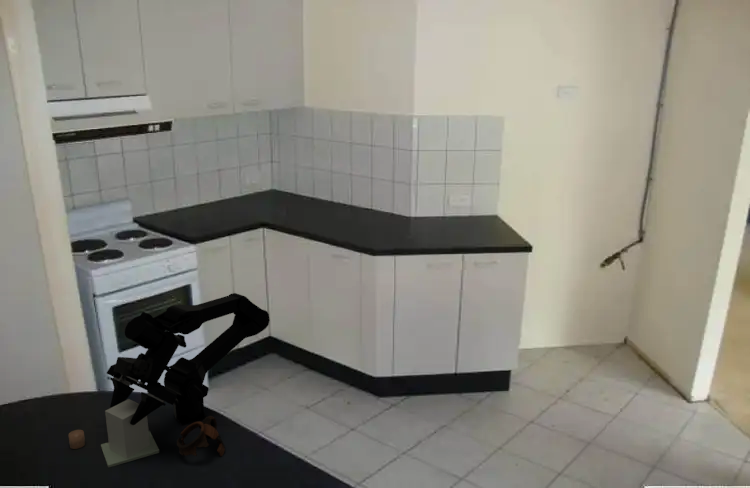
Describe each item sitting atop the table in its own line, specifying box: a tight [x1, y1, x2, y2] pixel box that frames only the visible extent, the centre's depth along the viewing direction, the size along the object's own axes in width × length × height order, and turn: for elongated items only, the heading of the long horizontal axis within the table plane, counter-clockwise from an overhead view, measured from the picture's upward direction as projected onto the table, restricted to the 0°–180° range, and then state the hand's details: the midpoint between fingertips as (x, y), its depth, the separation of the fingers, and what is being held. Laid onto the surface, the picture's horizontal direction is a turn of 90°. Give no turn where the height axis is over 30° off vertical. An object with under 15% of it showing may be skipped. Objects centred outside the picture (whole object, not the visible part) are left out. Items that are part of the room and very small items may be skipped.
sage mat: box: [100, 430, 160, 468], centre depth 145 cm, size 11×9×1 cm
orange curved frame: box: [176, 415, 226, 457], centre depth 146 cm, size 12×10×8 cm
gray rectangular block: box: [104, 398, 150, 459], centre depth 144 cm, size 6×6×10 cm
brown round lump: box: [68, 429, 86, 450], centre depth 146 cm, size 3×3×3 cm
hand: (121, 418), depth 142 cm, fingers open, 7 cm apart
